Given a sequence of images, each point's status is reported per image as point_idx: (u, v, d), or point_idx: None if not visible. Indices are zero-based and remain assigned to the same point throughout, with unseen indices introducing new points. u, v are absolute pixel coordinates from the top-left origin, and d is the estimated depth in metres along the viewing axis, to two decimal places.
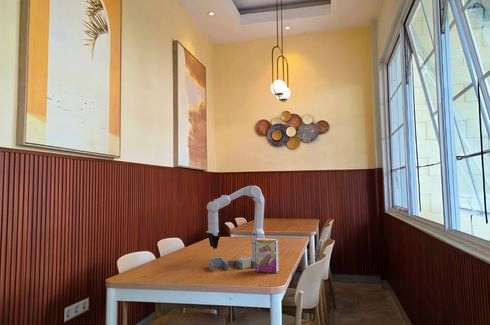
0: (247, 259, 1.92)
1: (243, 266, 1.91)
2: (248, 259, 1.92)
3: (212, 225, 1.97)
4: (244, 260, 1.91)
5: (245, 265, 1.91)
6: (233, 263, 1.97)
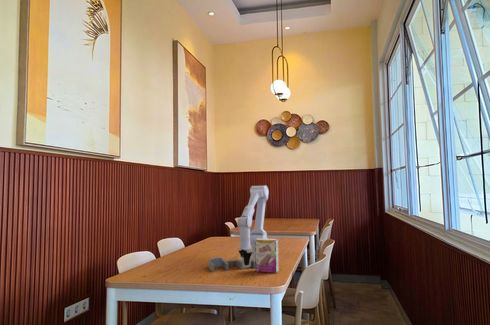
0: None
1: (243, 266, 1.91)
2: None
3: (244, 241, 1.91)
4: None
5: (245, 265, 1.91)
6: (233, 263, 1.97)
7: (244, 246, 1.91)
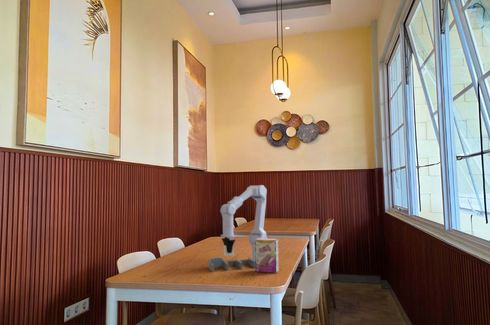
0: None
1: (226, 254, 1.89)
2: None
3: (227, 229, 1.89)
4: None
5: (228, 253, 1.89)
6: (233, 263, 1.97)
7: (227, 234, 1.89)
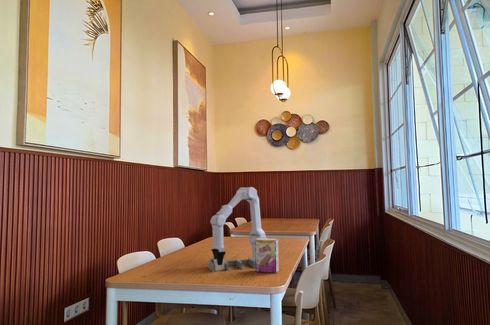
0: None
1: (216, 268, 1.87)
2: None
3: (217, 240, 1.87)
4: None
5: (218, 267, 1.87)
6: (233, 263, 1.97)
7: (217, 245, 1.87)
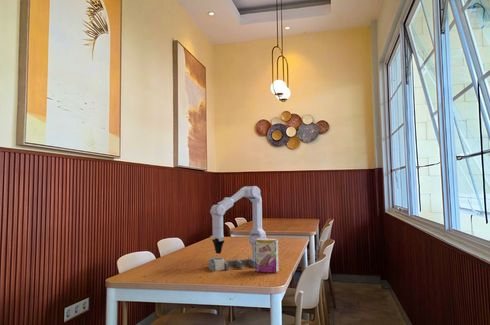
0: (220, 261, 1.88)
1: (216, 268, 1.87)
2: (221, 261, 1.88)
3: (217, 230, 1.88)
4: (217, 262, 1.87)
5: (218, 267, 1.87)
6: (233, 263, 1.97)
7: (216, 234, 1.87)
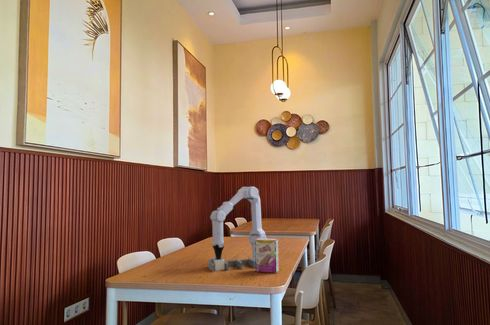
0: (220, 261, 1.88)
1: (216, 268, 1.87)
2: (221, 261, 1.88)
3: (217, 236, 1.87)
4: (217, 262, 1.87)
5: (218, 267, 1.87)
6: (233, 263, 1.97)
7: (216, 240, 1.87)
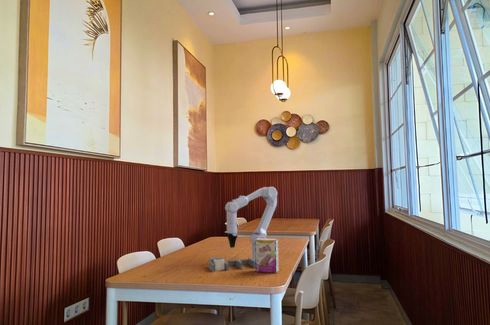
0: (220, 261, 1.88)
1: (216, 268, 1.87)
2: (221, 261, 1.88)
3: (231, 225, 1.99)
4: (217, 262, 1.87)
5: (218, 267, 1.87)
6: (233, 263, 1.97)
7: (231, 230, 1.99)
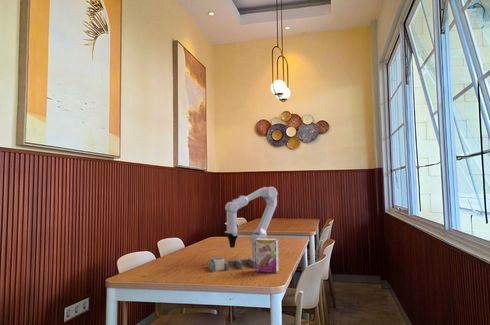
0: (220, 261, 1.88)
1: (216, 268, 1.87)
2: (221, 261, 1.88)
3: (231, 225, 1.99)
4: (217, 262, 1.87)
5: (218, 267, 1.87)
6: (233, 263, 1.97)
7: (231, 230, 1.99)
